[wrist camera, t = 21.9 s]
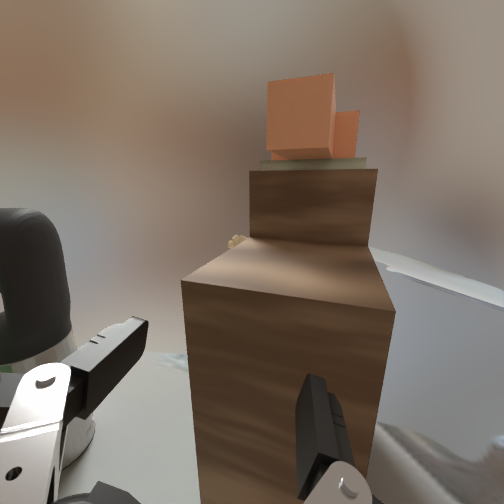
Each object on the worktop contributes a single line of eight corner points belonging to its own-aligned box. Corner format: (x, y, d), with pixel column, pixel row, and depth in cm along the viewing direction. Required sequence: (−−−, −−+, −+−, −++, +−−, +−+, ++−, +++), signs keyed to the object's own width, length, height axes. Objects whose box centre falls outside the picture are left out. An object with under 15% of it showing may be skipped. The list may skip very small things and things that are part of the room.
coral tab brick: (363, 145, 15) (372, 67, 14) (239, 151, 17) (238, 85, 16) (350, 164, 32) (353, 131, 31) (289, 166, 34) (290, 135, 33)
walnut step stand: (336, 638, 20) (429, 126, 9) (206, 566, 24) (168, 142, 13) (338, 395, 43) (366, 164, 32) (271, 378, 46) (276, 166, 36)
